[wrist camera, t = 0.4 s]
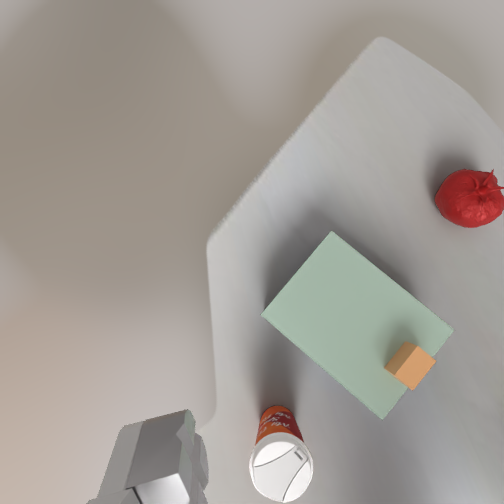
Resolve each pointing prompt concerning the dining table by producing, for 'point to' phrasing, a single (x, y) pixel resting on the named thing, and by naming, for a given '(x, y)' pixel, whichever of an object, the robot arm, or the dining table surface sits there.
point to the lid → (358, 325)
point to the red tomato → (470, 198)
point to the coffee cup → (280, 457)
